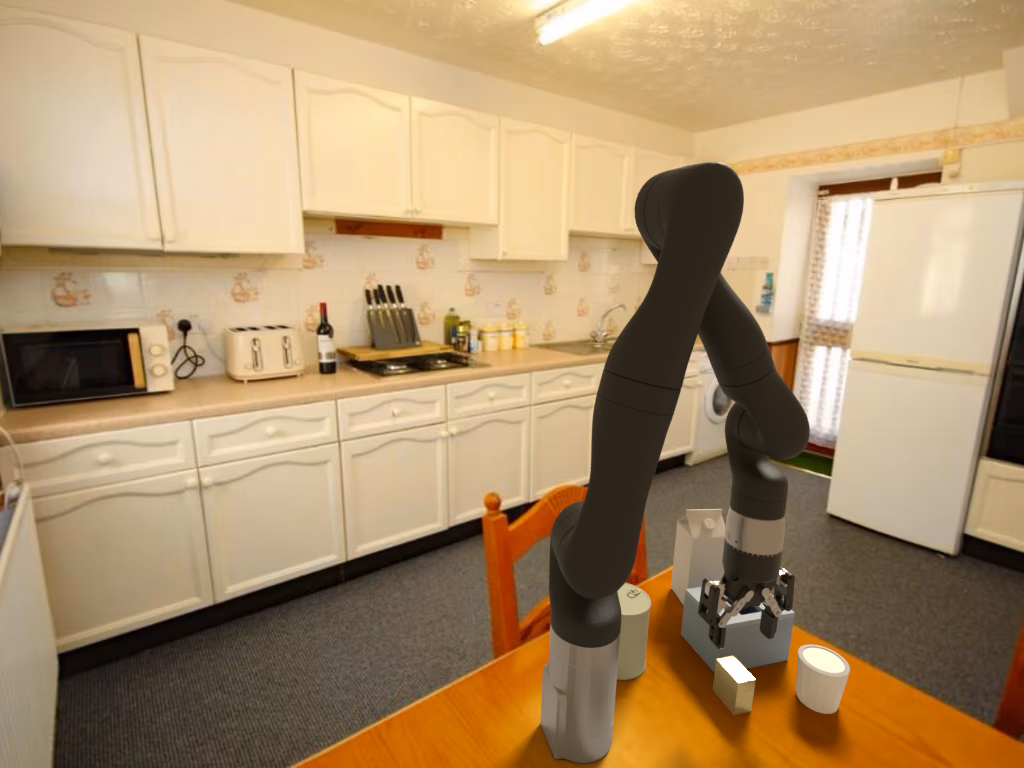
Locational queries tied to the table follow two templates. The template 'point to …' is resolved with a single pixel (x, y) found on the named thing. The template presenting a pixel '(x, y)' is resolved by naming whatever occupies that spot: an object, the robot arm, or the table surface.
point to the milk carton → (698, 550)
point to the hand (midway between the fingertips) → (742, 640)
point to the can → (633, 631)
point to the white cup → (821, 678)
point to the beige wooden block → (734, 685)
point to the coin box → (737, 634)
